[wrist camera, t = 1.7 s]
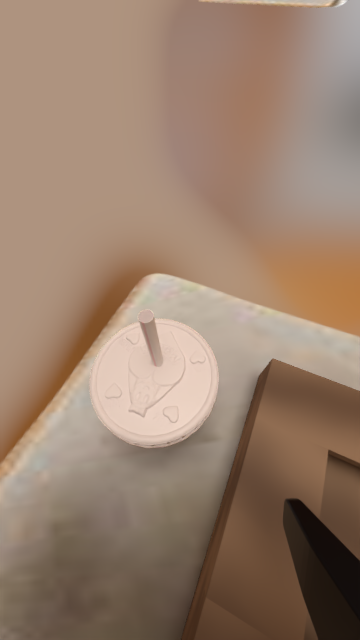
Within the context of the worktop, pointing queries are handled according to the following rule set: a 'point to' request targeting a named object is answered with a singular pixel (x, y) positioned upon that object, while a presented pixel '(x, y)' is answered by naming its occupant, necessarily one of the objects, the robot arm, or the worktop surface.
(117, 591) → the worktop surface
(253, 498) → the walnut box
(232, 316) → the worktop surface
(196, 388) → the smoothie
